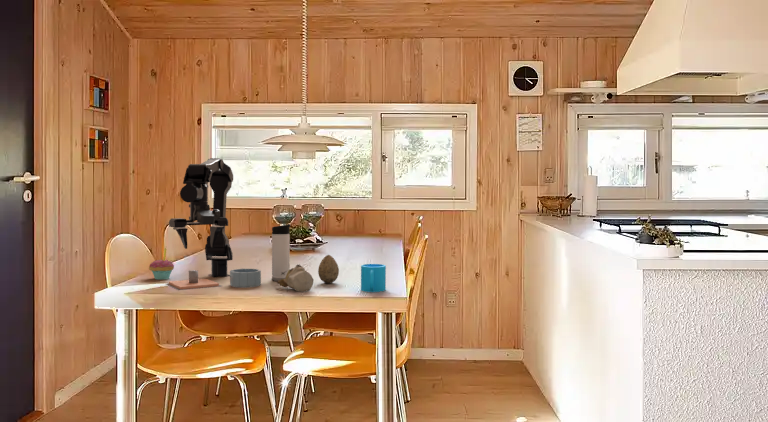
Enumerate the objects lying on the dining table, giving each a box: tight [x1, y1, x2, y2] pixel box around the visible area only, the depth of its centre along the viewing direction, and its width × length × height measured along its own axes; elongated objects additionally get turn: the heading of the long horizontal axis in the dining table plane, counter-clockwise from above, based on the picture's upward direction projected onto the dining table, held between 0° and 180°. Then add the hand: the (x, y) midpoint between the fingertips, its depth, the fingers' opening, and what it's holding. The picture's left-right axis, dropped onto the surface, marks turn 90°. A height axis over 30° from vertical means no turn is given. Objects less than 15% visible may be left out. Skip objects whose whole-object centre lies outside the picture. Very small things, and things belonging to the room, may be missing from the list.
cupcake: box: [148, 247, 175, 280], centre depth 253 cm, size 9×8×12 cm
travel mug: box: [271, 224, 291, 282], centre depth 253 cm, size 6×7×20 cm
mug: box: [360, 263, 387, 293], centre depth 232 cm, size 12×8×8 cm
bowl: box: [229, 268, 262, 289], centre depth 240 cm, size 10×10×5 cm
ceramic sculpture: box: [276, 264, 314, 293], centre depth 234 cm, size 11×9×15 cm
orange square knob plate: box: [168, 269, 220, 290], centre depth 239 cm, size 13×13×5 cm
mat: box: [165, 282, 222, 291], centre depth 239 cm, size 15×15×1 cm
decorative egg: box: [317, 254, 340, 284], centre depth 247 cm, size 7×7×10 cm
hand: (199, 248), depth 237 cm, fingers open, 9 cm apart
